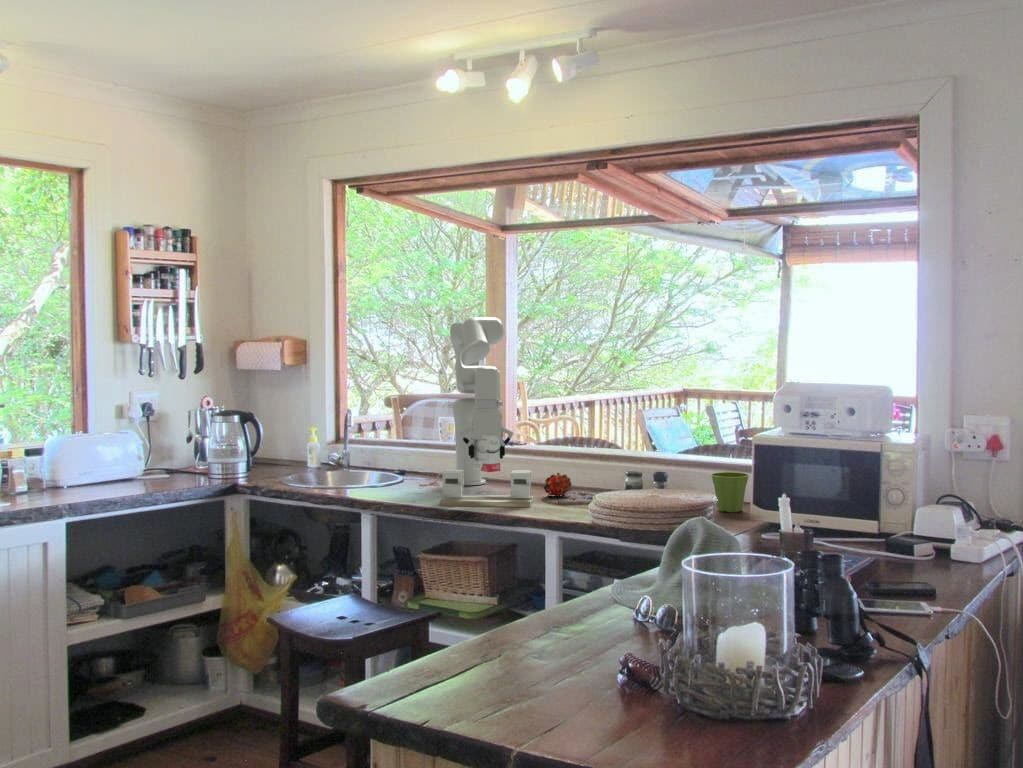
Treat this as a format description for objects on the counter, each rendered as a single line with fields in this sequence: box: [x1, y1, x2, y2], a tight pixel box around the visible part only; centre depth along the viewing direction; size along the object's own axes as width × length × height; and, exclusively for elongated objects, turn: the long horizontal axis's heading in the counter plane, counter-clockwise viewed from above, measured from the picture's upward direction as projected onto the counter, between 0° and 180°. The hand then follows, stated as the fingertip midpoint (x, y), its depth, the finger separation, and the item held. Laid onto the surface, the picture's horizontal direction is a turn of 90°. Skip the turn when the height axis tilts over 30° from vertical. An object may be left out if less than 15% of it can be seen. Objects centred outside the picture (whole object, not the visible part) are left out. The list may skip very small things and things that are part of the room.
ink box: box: [474, 435, 501, 473], centre depth 311 cm, size 8×5×12 cm, turn 38°
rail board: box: [439, 469, 534, 508], centre depth 311 cm, size 12×29×10 cm, turn 85°
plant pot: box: [710, 471, 751, 513], centre depth 295 cm, size 12×12×11 cm
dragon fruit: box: [543, 472, 572, 497], centre depth 324 cm, size 8×8×12 cm
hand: (486, 458), depth 311 cm, fingers closed on ink box, 9 cm apart
